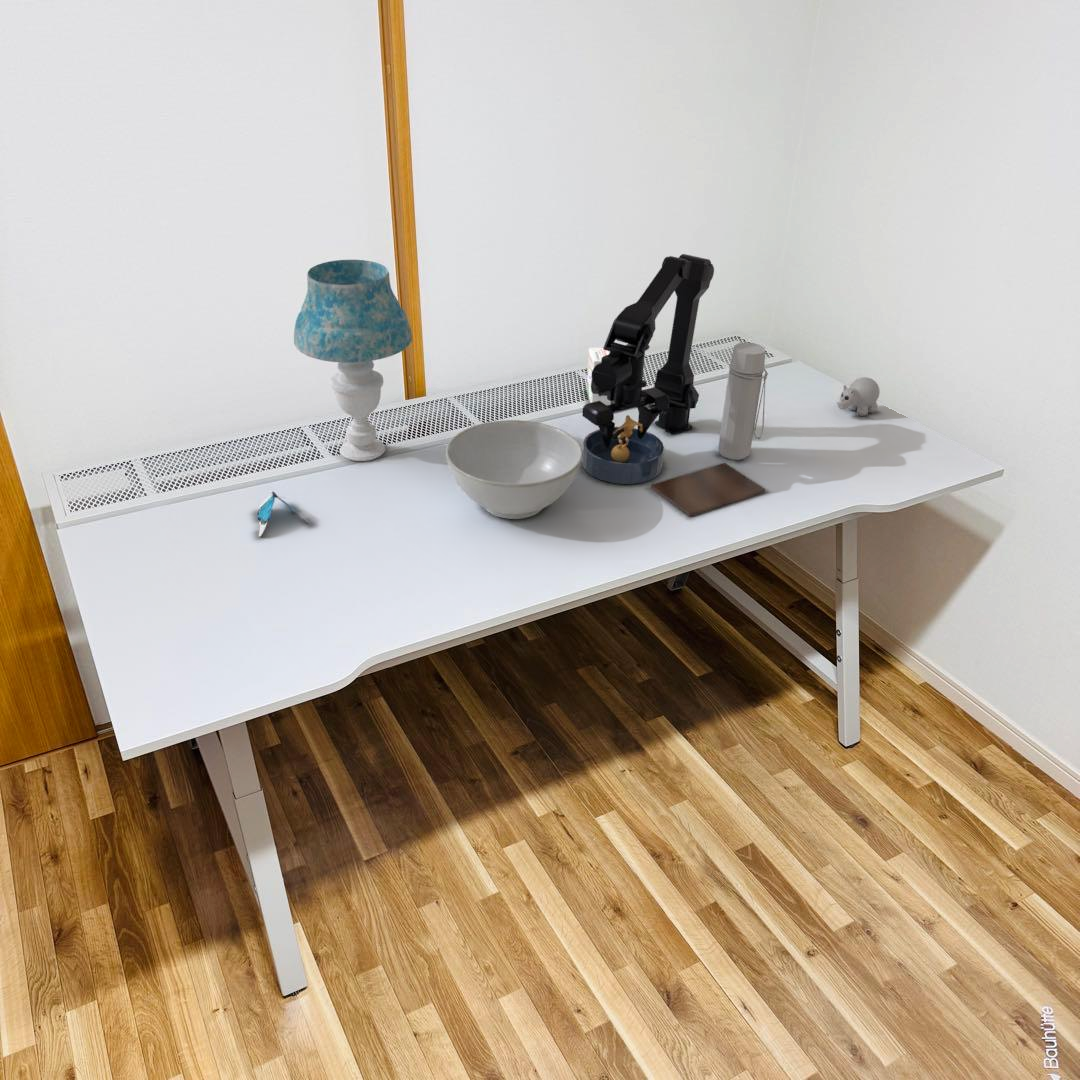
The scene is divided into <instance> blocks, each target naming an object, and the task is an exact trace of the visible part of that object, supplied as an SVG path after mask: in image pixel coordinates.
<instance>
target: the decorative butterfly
mask: <svg viewBox="0 0 1080 1080" xmlns="http://www.w3.org/2000/svg"><path fill="white" fill-rule="evenodd" d="M269 492H270V495H268V496H266V497H265V498H264V499H263V500H262V501H261V503H260V506H259V507H258V510H257V520H258V521H259V522H258V523H259V532H258V537H261V536H262V535H263V534H264V532H265V529H266V527H267V524H268V522H269V520H270V517H271V513H272V509H273V507H274V503H275V499H278V500H279V501H281V502H282V503H283V504H285V505H286V507H288V508H289V509H290V510H292V511H293V512H294V513H295V514H297V515H298V516H300V517H301V518H302V519H303V520H305V522H307V523H309V521H308V520H307V519H306V518H305V517H303V516H302V515H301V514H300V513H299V512H298V511H297V510H296V509H294V508H293V507H292V506H291V505H290V504H288V503H287V502H286V501H285V500H284V499H285V497H284V496H282V497H281V496H279V495H277V493H276V492H275V491H273V490H269ZM282 498H284V499H282Z"/></svg>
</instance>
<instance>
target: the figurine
mask: <svg viewBox="0 0 1080 1080" xmlns="http://www.w3.org/2000/svg"><path fill="white" fill-rule="evenodd" d="M636 426H637V427H638V426H640V428H641V429H639V430H640V431H643V429H642V424H641V423H638V421H635V420H633V419H632V418H631V416H630V415H628V414H627V415H625V420H624V423H622V424H621V425H619V426H617V427H618V428H617V429H616V430H615V431H614V432H613V434H615V433H616V432H617V431H618V430H620V429H622V428H624V433H623V432H621V434H620V435H619V436H618V439H619V443H620V445H617V446H615V447H614V448H613V449H612V451H611V457H612V459H613V460H614V461H615V462H619V463H623V462H625V461H627V460H628V458H629V450H628V448H627V447H626V446H627V445H628V442H629V439H628V437H629V436H631V435H632V430H633V429H634V428H636ZM624 436H625V437H626V444H625V445H622V443H623V442H622V440H621V438H623V437H624Z"/></svg>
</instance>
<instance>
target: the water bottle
mask: <svg viewBox="0 0 1080 1080" xmlns="http://www.w3.org/2000/svg"><path fill="white" fill-rule="evenodd" d="M765 362H766V348H765V347H764V346H762V345H761V344H758V343H756V342H755V343H754V342H746V341H745V342H739V343H737V344H735V345H733V350H732V354H731V358H730V363H729V365H728V367H729V370H728V375H727V383H726V390H725V397H724V404H723V410H722V411H723V412H722V419H721V423H720V424H721V426H720V433H719V439H718V440H719V441H718V447H717V450H718V451H717V452H718V454H719V455H721V456H722V457H723V458H725V459H728V460H733V461H740V460H745V459H746V458H747V457H748V456H749V455H751V449H752V443H753V436H754V438H755V439H756V440H760V439H761V438H762V435H763V432H764V428H765V404H766V381H767V377H768V375H769V373H768V371H767V370H766V368H765ZM763 374H764V375H763ZM762 381H763V384H762ZM761 387H762V389H761ZM760 394H761V395H760ZM762 399H763V408H762V423H761V424H762V427H761V433H760V436H757V434H756V430H757V425H758V419H759V414H760V409H761V403H762Z"/></svg>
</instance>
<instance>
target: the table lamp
mask: <svg viewBox="0 0 1080 1080" xmlns="http://www.w3.org/2000/svg"><path fill="white" fill-rule="evenodd" d="M306 279H307V291H306V294H305V298H304V300H303V303H302V305H301V309H300V312H299V313H298V314H297V316H296V319H295V323H294V331H293V344H294V346H295V348H296V349H297V350H298V351H299V352H300V353H302V354H303V355H305V356H306V357H309V358H311V359H312V358H313V359H315V360H319V361H324V362H331V363H337V369H338V372H336V373H334V374H332V376H331V379H330V388H331V389H332V390H333V391H334V395H335V396H334V397H335V400H336V402H337V405H338V407H339V408H340V409H341V411H343V412H344V413H345V414H347V415H349V416H351V417H352V421H351V422H350V425H348V427H346V430H345V431H346V432H345V434H346V441H345V442H344V443H343V444H342V445H341V446H340V447H339V454H340V455H341V456H342V457H343V458H345V459H347V460H348V461H353V462H368V461H372V460H375V459H377V458H380V457H381V456H382V455H383V454H384V453H385V451H386V445H385V444H384V443H383V442H382V441H381V440H379V439H377V430H376V429H377V428H376V427H375V425H373V424H371V422H370V420H369V419H368V416H369V415H370V414H372V413H373V412H374V411H375V410H376V409H377V407H378V406H379V404H380V400H381V392H382V387H383V386H384V377H383V375H382V374H381V373H380V372H379V371H377V370H373V369H374V366H375V364H374V363H375V362H374V361H379V360H382V359H387V358H389V357H392V356H393V357H394V356H396V355H397V354H400V353H401V352H403V351H404V350H405V349H407V348H408V347H409V346H410V345H411V343H412V340H413V333H412V329H411V325H410V322H409V319H408V316H407V314H406V312H405V310H404V309H403V308H402V307H401V305H400V301H399V300H398V298H397V297H396V295H395V293H394V291H393V289H392V285H391V279H390V271H389V269H388V268H387V267H386V266H385V265H383V264H381V263H379V262H376V261H372V260H364V259H338V260H331V261H325V262H322V263H318V264H316V265H313V266H312V267H310V269H308V271H307V274H306Z"/></svg>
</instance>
